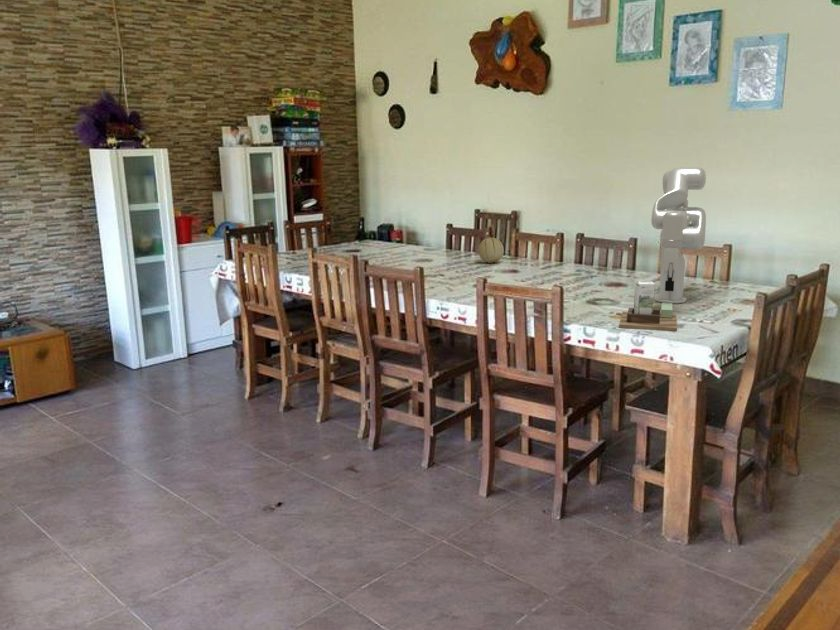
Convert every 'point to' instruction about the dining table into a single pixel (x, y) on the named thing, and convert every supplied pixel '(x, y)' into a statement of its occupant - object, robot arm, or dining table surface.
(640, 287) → the syrup box
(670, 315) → the bar
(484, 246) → the cantaloupe
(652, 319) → the socket board
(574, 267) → the dining table surface
